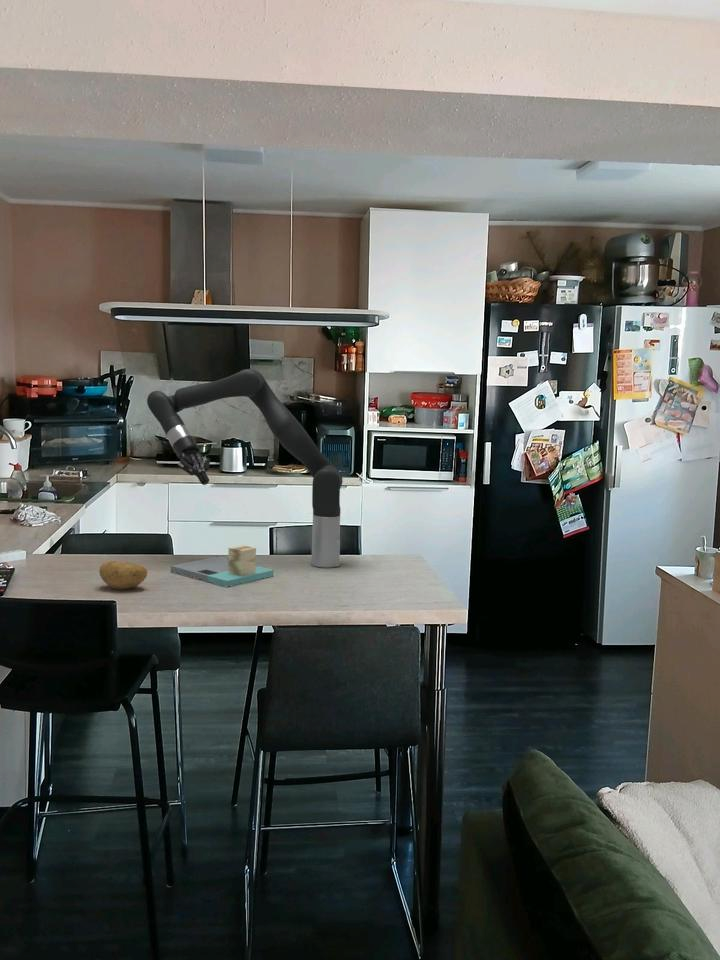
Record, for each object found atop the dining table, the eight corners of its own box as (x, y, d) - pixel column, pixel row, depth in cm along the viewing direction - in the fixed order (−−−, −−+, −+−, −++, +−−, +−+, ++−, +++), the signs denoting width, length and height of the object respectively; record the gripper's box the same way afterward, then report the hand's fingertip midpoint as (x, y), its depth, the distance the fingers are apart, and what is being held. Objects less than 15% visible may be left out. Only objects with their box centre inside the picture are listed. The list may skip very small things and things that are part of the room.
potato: (140, 594, 250) (140, 567, 249) (93, 590, 252) (93, 563, 251) (152, 585, 260) (152, 559, 259) (107, 582, 262) (107, 556, 261)
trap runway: (170, 572, 277) (170, 565, 277) (217, 562, 293) (217, 556, 293) (227, 587, 262) (227, 580, 261) (273, 576, 277) (273, 570, 277)
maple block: (228, 573, 271) (228, 547, 270) (242, 569, 276) (242, 545, 274) (241, 576, 267) (242, 550, 266) (255, 573, 272) (256, 548, 271)
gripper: (172, 435, 282) (196, 478, 276) (203, 433, 292) (227, 474, 287) (161, 450, 286) (185, 492, 280) (192, 447, 296) (215, 488, 291)
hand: (206, 483), depth 284 cm, fingers closed
